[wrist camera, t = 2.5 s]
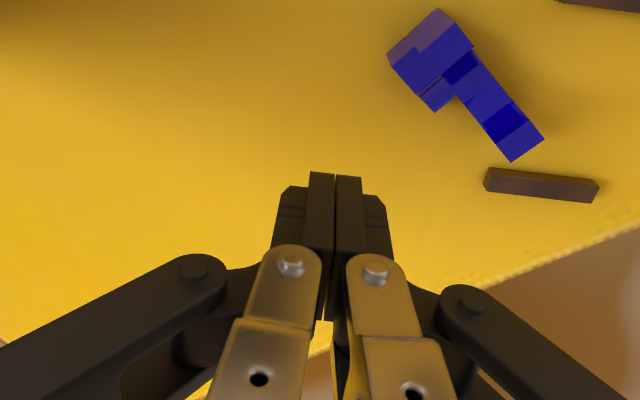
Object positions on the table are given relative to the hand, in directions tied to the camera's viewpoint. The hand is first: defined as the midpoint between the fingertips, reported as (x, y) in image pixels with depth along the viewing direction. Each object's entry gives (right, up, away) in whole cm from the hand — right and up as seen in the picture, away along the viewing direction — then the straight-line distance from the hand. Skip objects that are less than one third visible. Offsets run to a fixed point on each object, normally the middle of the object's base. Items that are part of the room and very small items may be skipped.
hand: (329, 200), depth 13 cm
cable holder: (+7, +7, +13) cm, 16 cm away
